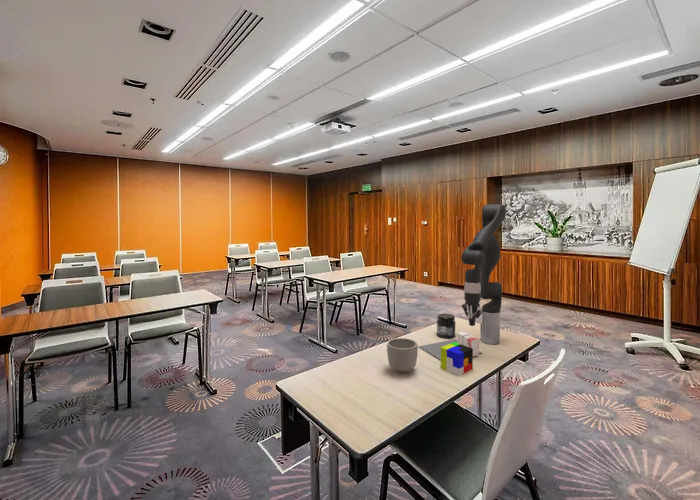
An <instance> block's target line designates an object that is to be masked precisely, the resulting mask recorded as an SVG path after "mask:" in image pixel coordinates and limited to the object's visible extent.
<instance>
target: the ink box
mask: <svg viewBox="0 0 700 500" xmlns="http://www.w3.org/2000/svg"><path fill="white" fill-rule="evenodd" d="M456 337H457V338H456V340H457V343H458V344H461V345H464V346H467V347H470V348H473V357H478V356H479V351H480V338H477V337H475V336H473V335H471V334H470V333H468V332H466V331H460V332H457V333H456Z"/></svg>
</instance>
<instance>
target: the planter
mask: <svg viewBox="0 0 700 500" xmlns="http://www.w3.org/2000/svg"><path fill="white" fill-rule="evenodd" d="M418 350H419V345H418V342H417V341H416V340H414V339H411V338H405V337H398V338H397V337H396V338H391V339H389V340H387V342H386V352H387V361H388V365H389V367H390V368H391V369H392V370H394V372H396V373H397V374H399V375H404V374H405V375H406V374H409V373H410V372H411V371H412V370H413V369H414V368H415V367H416V365H417V362H418V361H417V360H418Z"/></svg>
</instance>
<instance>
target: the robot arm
mask: <svg viewBox="0 0 700 500" xmlns="http://www.w3.org/2000/svg"><path fill="white" fill-rule="evenodd" d="M506 216H507V208H506V205H504V204H502V203H501V204H500V203H490V204H489V203H488V204H484V205H483V206H482V209H481V229H479V230H478V232H476V234H475V236H474V238H473V240H472V242H471V243H470V244H469V245H468V246H467V247H466V248H465V249H464V250H462V253H461V256H460V258H461V261H462V263H463V264H465V265H472V266H473V268H471V269H470V268H469V269H466V270H465V274H464V291H463V292H464V296H463V297H464V299H463V300H464V301H465V302H464V304H461V307H462V309H463V311H464V314H465V316H466V317H468V325H469V326H471V327H473V326H475V325H476V319H479V318H480V317H481V322H480V331H479V333H480V337H479V341H480V340H481V342H482V343H484V344H488V345H498V344H500V342H501V340H500V339H501V337H500V335H501V310H502V309H501V308H502V300H503V299H502V298H503V287H502V285H501V283H500V282H498V281H490V277H491V274H492V272H493V271H494V270H495V268H496V266H497V265H498V263H499V261H500V259H501V244H500V243H499V241H498V239H497V238H496V236H495V233H496V231H497V230H498V229H499V227H501V224H502V223H503V222H504V220H505V218H506ZM481 299H482V300H490V301H489V302H486V303H484V304H483V305H482V306H481V305H480V304H481V303H480V302H481Z"/></svg>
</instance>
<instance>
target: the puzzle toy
mask: <svg viewBox="0 0 700 500" xmlns="http://www.w3.org/2000/svg"><path fill="white" fill-rule="evenodd" d="M473 358H474V356H473V348H470V347H467V346H464V345H461V344H458V343H455V342H454V343H451V344H448V345H446V346H443V347H441V361H440V369H442V370H444V371H447V372H449V373H451V374H454V375H456V376H459V377H460V376H461V375H464V374H466V373H468V372H470V371H472V370H473V368H474V367H473V366H474V365H473V361H474V360H473Z"/></svg>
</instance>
